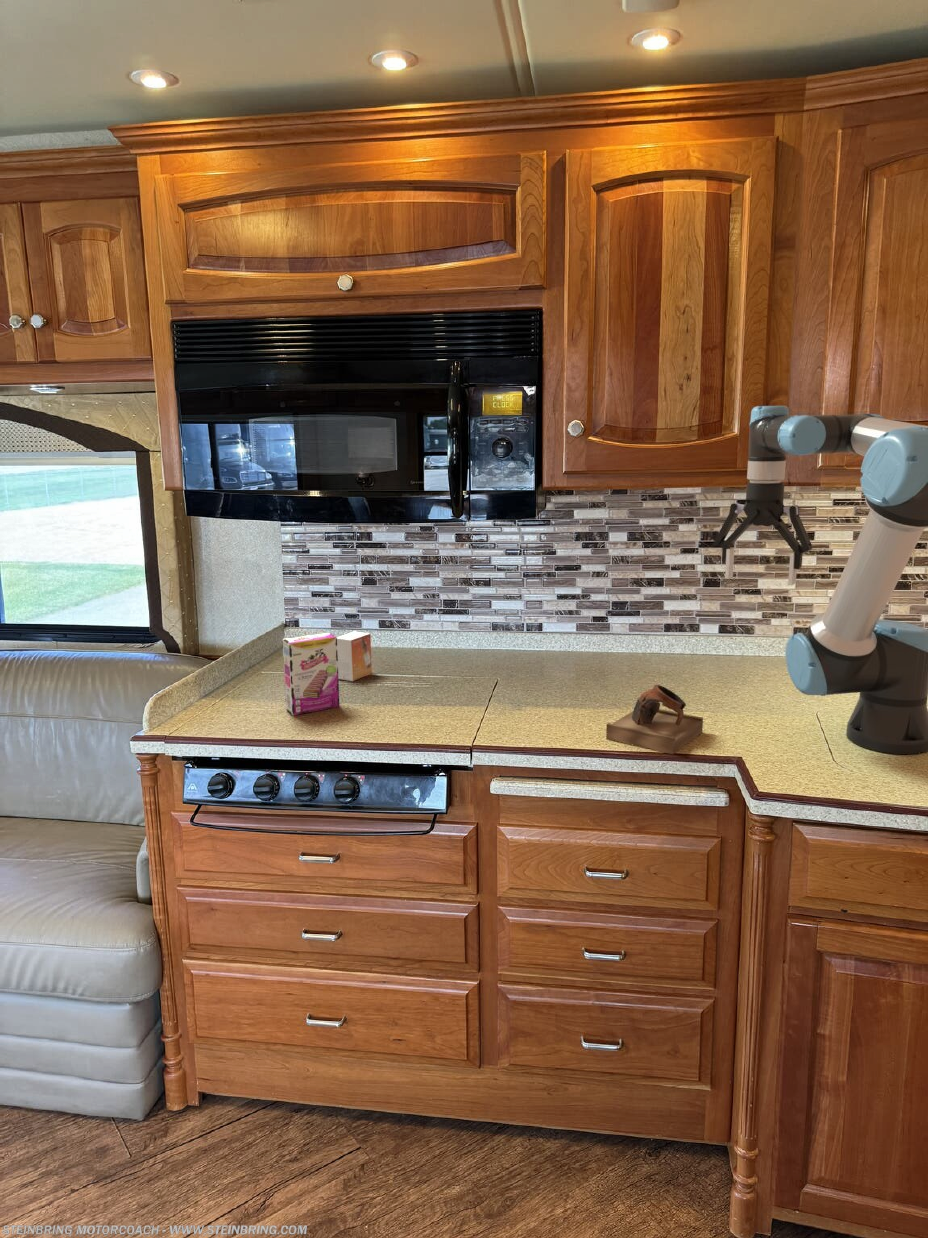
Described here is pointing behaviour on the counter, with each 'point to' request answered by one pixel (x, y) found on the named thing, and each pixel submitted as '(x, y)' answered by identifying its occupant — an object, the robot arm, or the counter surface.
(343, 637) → the small box
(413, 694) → the counter surface
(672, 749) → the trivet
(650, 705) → the brown hollow arched piece
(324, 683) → the candy bar box
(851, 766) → the counter surface
